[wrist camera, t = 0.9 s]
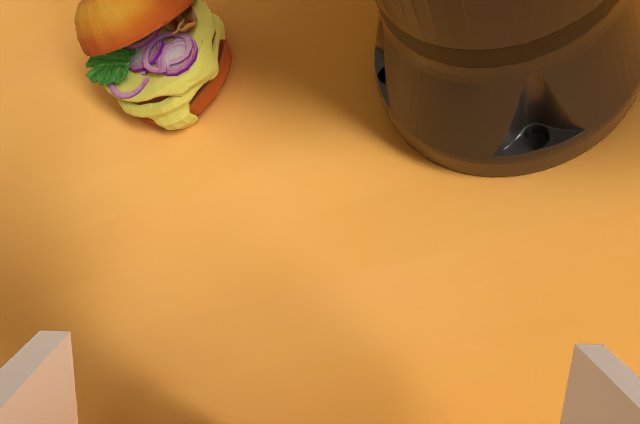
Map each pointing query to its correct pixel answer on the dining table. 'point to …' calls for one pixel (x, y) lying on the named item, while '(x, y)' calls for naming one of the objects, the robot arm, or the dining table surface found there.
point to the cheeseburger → (155, 56)
